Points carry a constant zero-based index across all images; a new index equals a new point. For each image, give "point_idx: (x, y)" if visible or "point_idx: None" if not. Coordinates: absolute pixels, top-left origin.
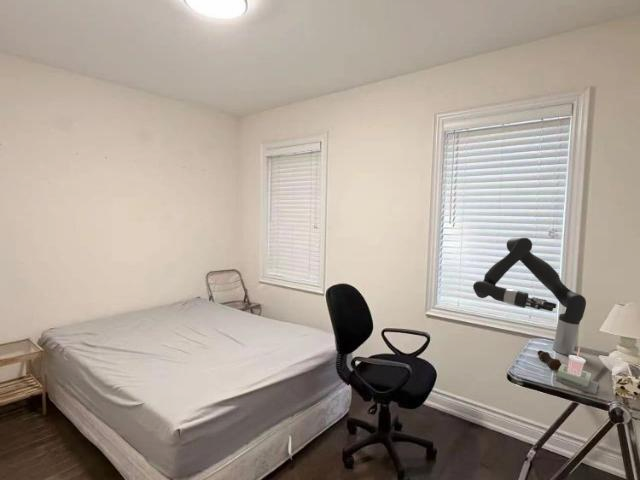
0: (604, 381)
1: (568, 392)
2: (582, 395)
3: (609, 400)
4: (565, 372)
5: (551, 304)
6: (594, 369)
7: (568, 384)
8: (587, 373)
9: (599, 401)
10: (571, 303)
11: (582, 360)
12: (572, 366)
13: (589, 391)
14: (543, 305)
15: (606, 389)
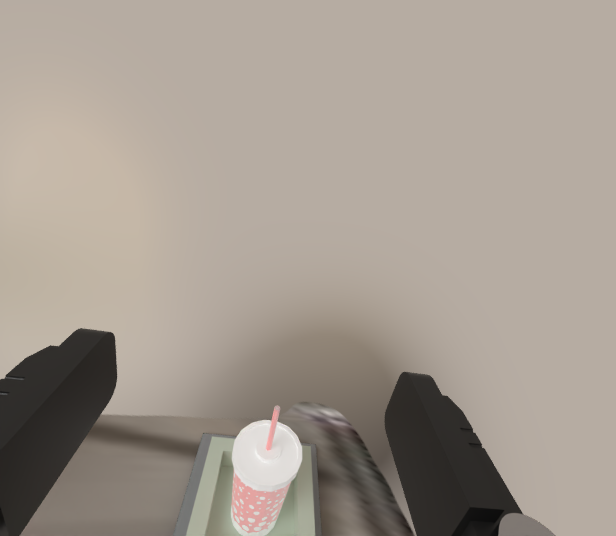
0: (150, 419)
1: (391, 528)
2: (361, 483)
3: (312, 419)
4: (309, 531)
5: (70, 403)
6: None
7: (320, 532)
8: (226, 448)
9: (350, 441)
10: None
11: (276, 431)
12: (288, 488)
13: (316, 461)
14: (510, 522)
15: (228, 419)
